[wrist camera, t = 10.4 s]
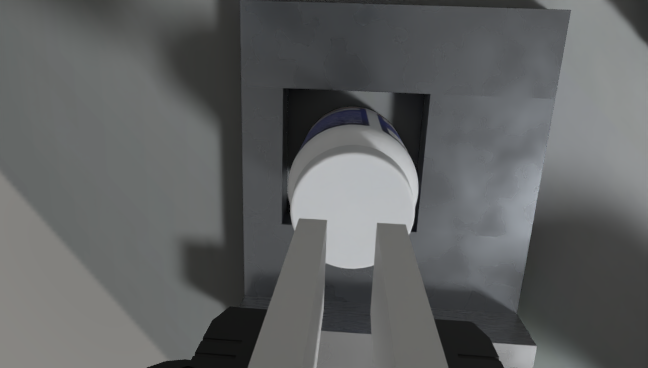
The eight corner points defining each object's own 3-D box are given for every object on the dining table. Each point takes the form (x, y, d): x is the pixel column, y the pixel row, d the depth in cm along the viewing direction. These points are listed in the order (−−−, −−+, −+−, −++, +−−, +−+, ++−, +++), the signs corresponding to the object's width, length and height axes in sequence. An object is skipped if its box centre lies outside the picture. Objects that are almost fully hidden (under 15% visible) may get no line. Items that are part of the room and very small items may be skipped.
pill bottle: (293, 186, 27) (258, 258, 17) (318, 93, 25) (296, 116, 16) (384, 212, 27) (401, 299, 17) (415, 121, 25) (453, 162, 16)
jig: (249, 4, 24) (222, -9, 19) (553, 13, 23) (604, 2, 18) (252, 326, 30) (232, 379, 25) (497, 344, 29) (526, 402, 24)
